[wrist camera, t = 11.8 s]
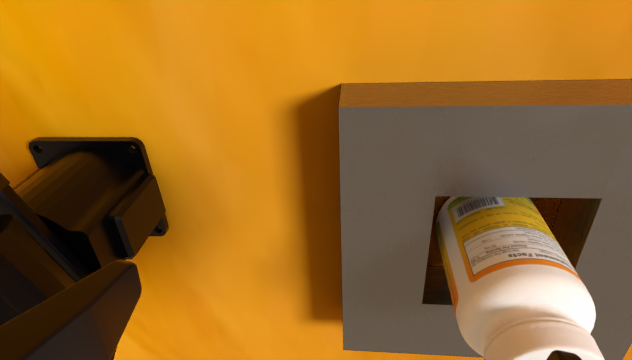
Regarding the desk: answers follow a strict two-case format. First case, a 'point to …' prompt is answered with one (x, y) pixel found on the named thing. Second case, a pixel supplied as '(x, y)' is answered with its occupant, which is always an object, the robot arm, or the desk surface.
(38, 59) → the desk surface
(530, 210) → the supplement bottle
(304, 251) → the desk surface
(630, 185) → the socket block
